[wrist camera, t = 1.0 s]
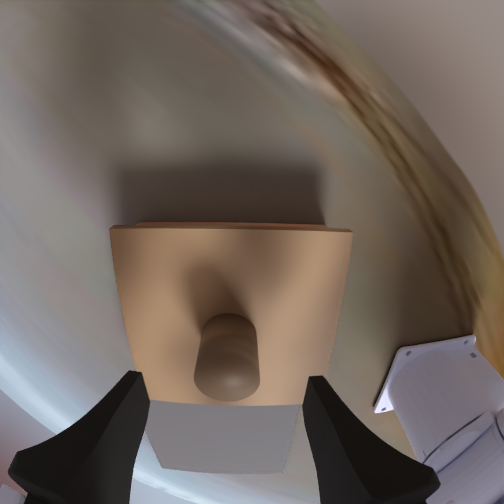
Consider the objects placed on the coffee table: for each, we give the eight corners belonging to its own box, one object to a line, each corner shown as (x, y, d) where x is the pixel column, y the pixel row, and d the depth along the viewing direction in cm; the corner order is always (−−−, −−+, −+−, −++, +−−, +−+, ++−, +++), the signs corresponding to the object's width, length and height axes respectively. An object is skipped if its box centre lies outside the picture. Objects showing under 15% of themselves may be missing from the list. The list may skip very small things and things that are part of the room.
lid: (349, 229, 14) (383, 258, 10) (317, 396, 18) (329, 441, 15) (114, 225, 14) (74, 253, 10) (146, 392, 18) (132, 437, 14)
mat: (301, 390, 21) (301, 393, 21) (282, 470, 27) (282, 472, 26) (130, 383, 21) (129, 386, 21) (162, 465, 26) (161, 467, 26)
